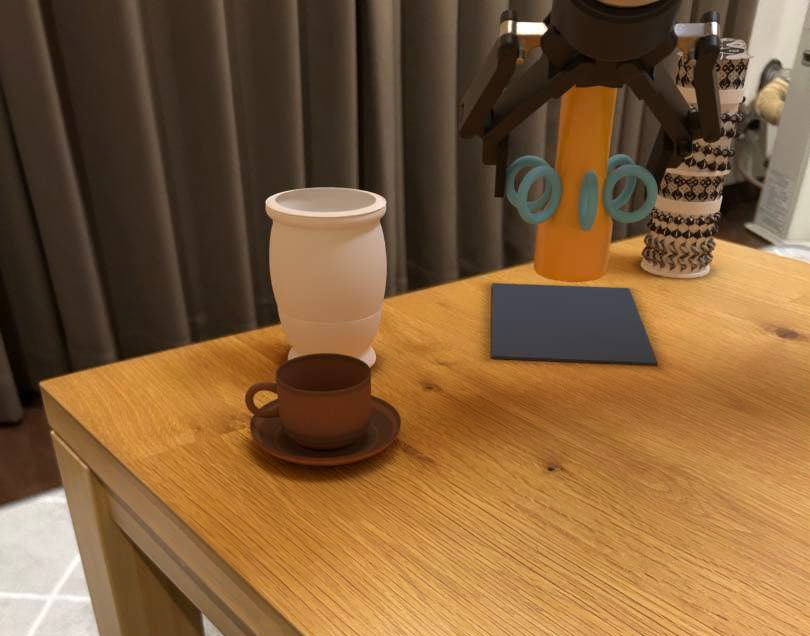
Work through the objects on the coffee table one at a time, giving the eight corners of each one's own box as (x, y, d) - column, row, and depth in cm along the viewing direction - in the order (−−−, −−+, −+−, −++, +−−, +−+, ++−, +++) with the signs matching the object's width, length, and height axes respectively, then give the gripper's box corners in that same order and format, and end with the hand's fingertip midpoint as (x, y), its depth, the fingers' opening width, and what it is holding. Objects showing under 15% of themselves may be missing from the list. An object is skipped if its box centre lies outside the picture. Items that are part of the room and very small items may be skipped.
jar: (404, 352, 86) (406, 193, 77) (356, 392, 78) (352, 220, 69) (311, 334, 89) (302, 180, 81) (256, 371, 81) (240, 205, 73)
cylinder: (555, 304, 65) (578, 80, 57) (472, 268, 72) (482, 64, 64) (669, 276, 71) (705, 68, 62) (582, 245, 78) (604, 55, 69)
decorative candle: (635, 254, 113) (670, 34, 99) (708, 258, 112) (754, 36, 98) (638, 276, 106) (677, 41, 91) (717, 281, 105) (768, 44, 90)
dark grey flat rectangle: (657, 365, 83) (657, 362, 83) (491, 358, 85) (491, 355, 84) (628, 290, 102) (629, 288, 101) (492, 285, 103) (492, 282, 102)
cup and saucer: (274, 492, 64) (267, 417, 60) (237, 423, 73) (229, 353, 69) (423, 463, 67) (425, 390, 64) (370, 400, 77) (369, 333, 73)
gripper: (412, 14, 49) (425, 222, 70) (845, 18, 47) (723, 230, 69) (420, -100, 50) (430, 139, 72) (841, -99, 49) (722, 145, 70)
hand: (573, 184), depth 70 cm, fingers closed on cylinder, 11 cm apart
